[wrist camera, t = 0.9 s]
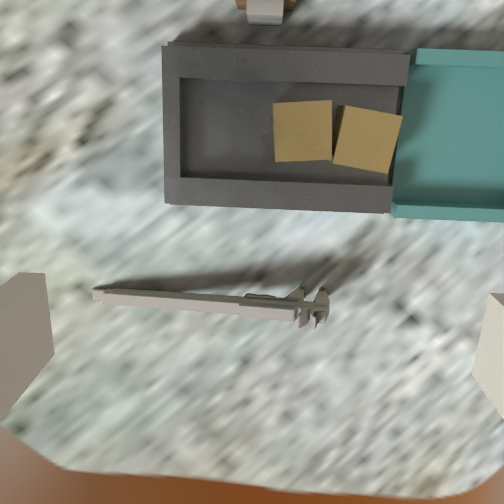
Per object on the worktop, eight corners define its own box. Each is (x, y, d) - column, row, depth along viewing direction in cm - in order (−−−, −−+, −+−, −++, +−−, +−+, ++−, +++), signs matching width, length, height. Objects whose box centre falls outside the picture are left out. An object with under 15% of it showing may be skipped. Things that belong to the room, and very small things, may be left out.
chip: (272, 103, 35) (273, 103, 32) (326, 100, 35) (331, 100, 32) (274, 157, 36) (275, 162, 34) (326, 155, 36) (331, 159, 33)
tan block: (339, 105, 35) (345, 105, 32) (392, 115, 35) (403, 116, 32) (327, 158, 36) (332, 163, 33) (378, 168, 36) (387, 173, 34)
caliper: (325, 285, 41) (334, 316, 35) (324, 297, 41) (334, 329, 35) (93, 287, 42) (64, 317, 36) (95, 298, 42) (66, 330, 36)
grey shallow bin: (170, 43, 35) (161, 37, 32) (399, 51, 35) (411, 46, 32) (172, 201, 39) (164, 209, 36) (380, 210, 39) (389, 219, 36)
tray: (407, 52, 35) (417, 48, 33) (549, 57, 35) (570, 53, 32) (387, 210, 39) (395, 217, 36) (516, 216, 38) (532, 223, 36)
